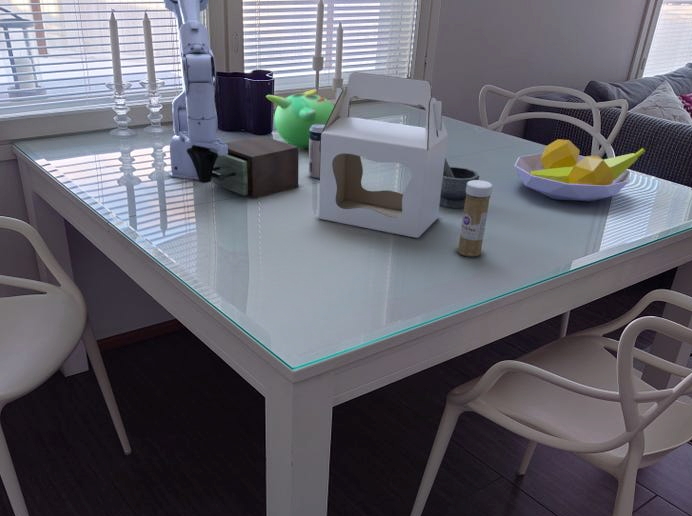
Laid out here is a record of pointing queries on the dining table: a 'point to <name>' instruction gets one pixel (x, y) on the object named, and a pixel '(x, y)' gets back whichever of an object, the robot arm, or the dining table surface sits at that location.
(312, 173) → the spice jar
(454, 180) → the mortar and pestle
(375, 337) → the dining table surface
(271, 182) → the cabinet
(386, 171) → the dining table surface
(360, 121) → the gable box
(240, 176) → the green-fronted drawer
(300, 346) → the dining table surface
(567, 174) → the fruit bowl
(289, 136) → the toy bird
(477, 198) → the sprinkles bottle
